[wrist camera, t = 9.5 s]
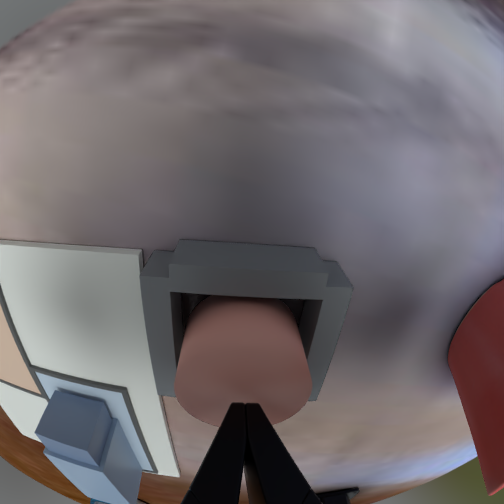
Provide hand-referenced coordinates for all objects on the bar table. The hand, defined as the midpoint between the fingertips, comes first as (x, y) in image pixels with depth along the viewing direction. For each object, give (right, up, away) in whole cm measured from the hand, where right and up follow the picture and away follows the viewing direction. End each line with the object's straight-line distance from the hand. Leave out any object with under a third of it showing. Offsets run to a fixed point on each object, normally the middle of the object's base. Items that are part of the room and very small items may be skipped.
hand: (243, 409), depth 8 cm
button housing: (0, +2, +4) cm, 5 cm away
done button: (0, +2, +4) cm, 5 cm away
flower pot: (+16, 0, +6) cm, 17 cm away
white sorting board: (-13, -4, +6) cm, 15 cm away
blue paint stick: (-10, -8, +7) cm, 15 cm away
